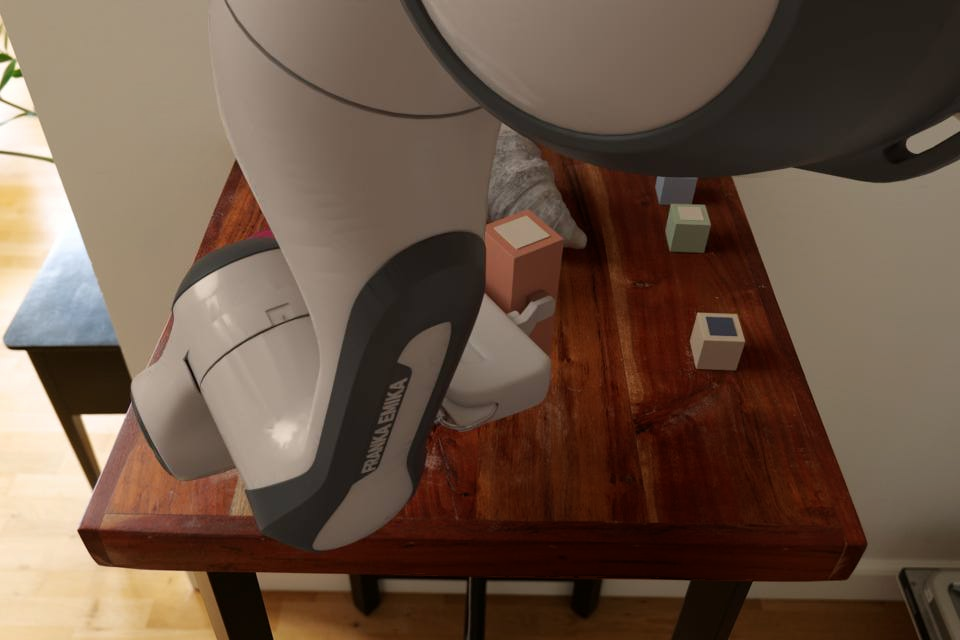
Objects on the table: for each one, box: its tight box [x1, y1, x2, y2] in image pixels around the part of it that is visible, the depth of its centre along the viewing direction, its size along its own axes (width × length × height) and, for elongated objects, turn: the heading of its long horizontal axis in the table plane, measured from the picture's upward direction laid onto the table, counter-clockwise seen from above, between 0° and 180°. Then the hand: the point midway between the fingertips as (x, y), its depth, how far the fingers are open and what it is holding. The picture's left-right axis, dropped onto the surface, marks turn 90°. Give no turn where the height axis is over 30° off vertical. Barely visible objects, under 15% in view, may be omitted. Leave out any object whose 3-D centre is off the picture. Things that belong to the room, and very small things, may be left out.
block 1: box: [654, 176, 699, 206], centre depth 106 cm, size 4×4×4 cm
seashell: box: [486, 129, 588, 250], centre depth 99 cm, size 16×15×10 cm
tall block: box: [485, 209, 564, 357], centre depth 67 cm, size 4×4×12 cm
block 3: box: [689, 312, 746, 371], centre depth 85 cm, size 4×4×4 cm
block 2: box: [664, 203, 712, 254], centre depth 99 cm, size 4×4×4 cm
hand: (527, 280), depth 67 cm, fingers closed on tall block, 4 cm apart
